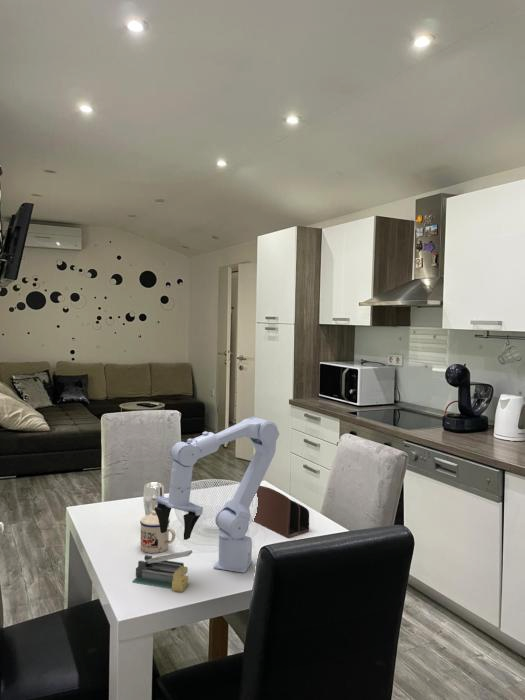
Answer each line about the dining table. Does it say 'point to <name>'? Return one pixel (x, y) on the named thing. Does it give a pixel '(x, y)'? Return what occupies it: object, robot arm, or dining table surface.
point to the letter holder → (281, 513)
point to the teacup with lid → (154, 534)
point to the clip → (180, 579)
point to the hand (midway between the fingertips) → (175, 535)
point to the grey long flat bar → (168, 557)
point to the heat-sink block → (159, 574)
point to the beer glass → (152, 495)
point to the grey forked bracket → (142, 566)
